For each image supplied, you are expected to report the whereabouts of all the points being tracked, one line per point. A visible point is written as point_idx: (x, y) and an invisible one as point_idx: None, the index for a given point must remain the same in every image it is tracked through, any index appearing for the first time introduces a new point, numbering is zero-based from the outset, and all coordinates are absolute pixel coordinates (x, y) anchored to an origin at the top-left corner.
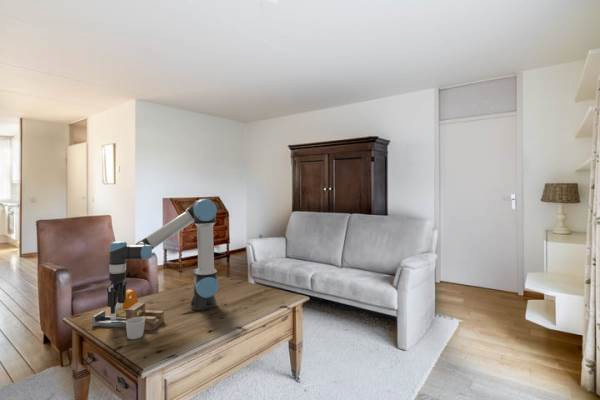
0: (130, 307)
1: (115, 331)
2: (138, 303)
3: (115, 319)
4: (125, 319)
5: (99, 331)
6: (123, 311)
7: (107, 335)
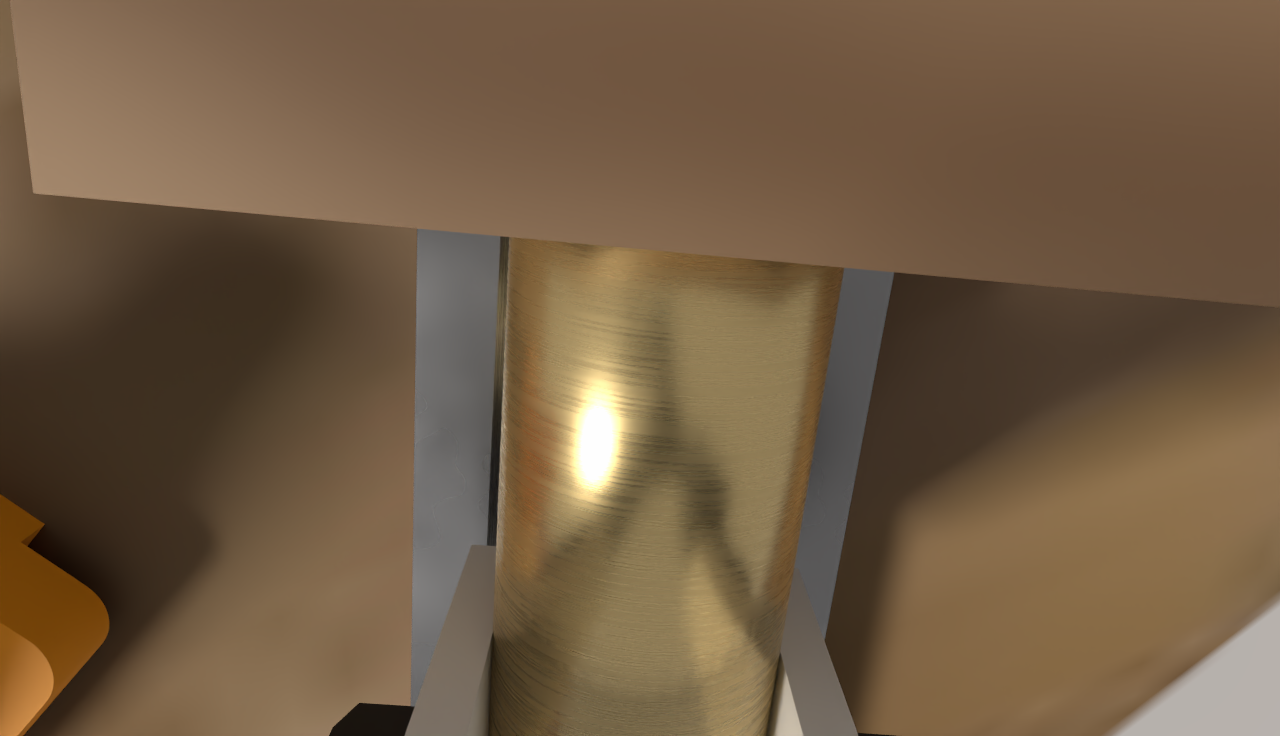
0: (977, 229)
1: (1065, 358)
2: (228, 55)
3: (800, 580)
4: (498, 415)
5: (1014, 662)
6: (772, 511)
7: (1263, 421)
